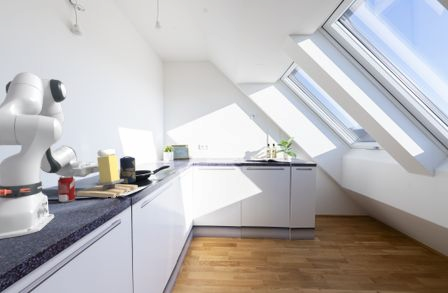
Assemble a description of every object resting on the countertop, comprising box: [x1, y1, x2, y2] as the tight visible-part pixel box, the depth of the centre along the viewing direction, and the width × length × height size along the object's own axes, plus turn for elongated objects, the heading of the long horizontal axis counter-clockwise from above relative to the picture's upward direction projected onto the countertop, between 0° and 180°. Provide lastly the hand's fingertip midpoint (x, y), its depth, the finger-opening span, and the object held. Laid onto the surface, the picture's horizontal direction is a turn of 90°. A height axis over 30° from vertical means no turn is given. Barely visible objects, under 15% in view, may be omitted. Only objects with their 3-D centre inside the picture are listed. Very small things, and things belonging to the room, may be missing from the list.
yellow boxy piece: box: [95, 148, 124, 186], centre depth 132 cm, size 10×10×19 cm
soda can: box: [57, 176, 76, 204], centre depth 113 cm, size 7×7×12 cm
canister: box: [119, 155, 137, 184], centre depth 157 cm, size 10×10×18 cm
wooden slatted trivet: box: [75, 183, 139, 199], centre depth 132 cm, size 22×22×4 cm
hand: (103, 169), depth 132 cm, fingers closed, pressing on yellow boxy piece
